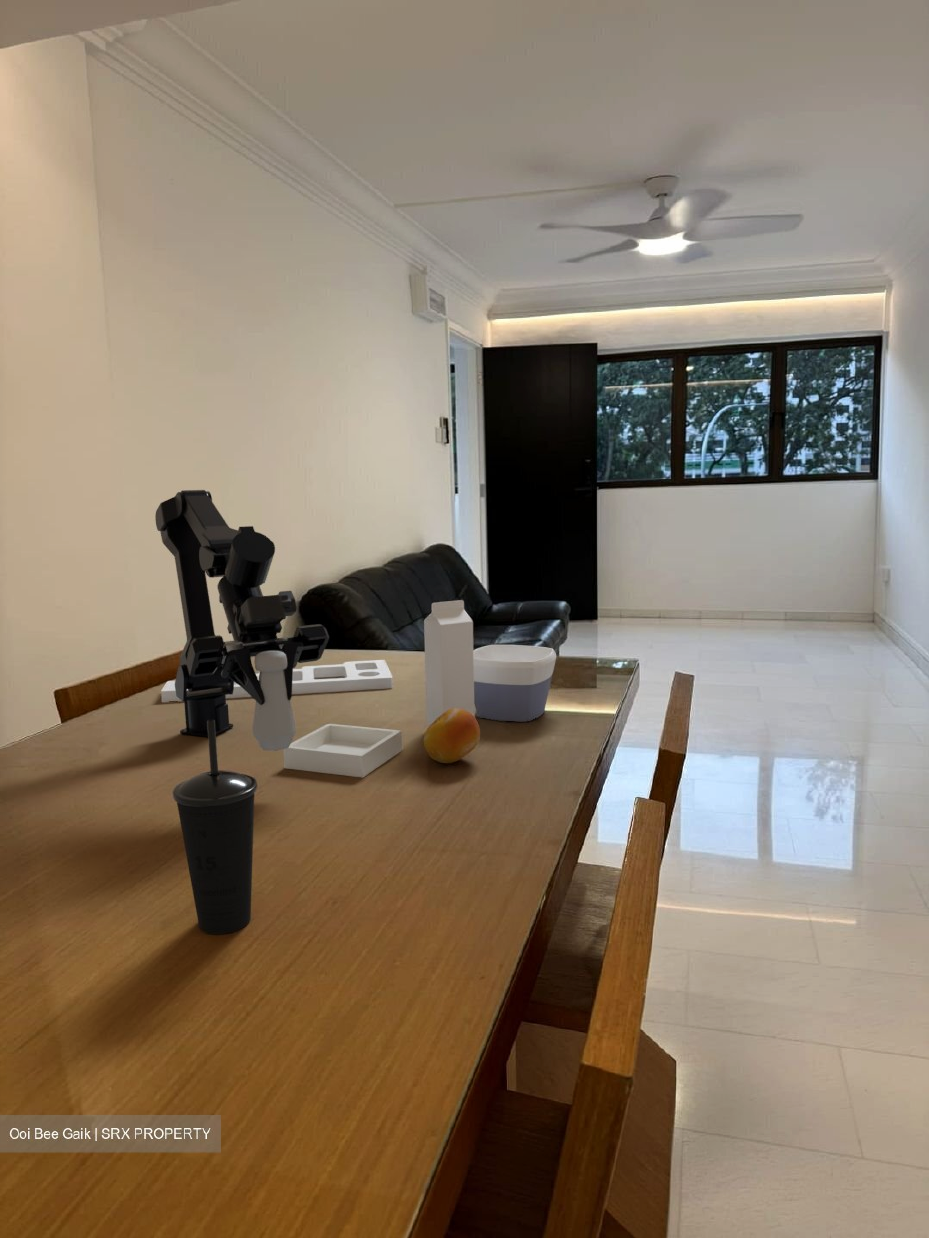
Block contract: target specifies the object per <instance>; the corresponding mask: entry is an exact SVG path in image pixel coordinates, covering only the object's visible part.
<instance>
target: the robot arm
mask: <svg viewBox="0 0 929 1238" xmlns="http://www.w3.org/2000/svg"><path fill="white" fill-rule="evenodd" d="M154 517H155V525H156V530H157V532H160V538H161V541H162V544H163V545H164V546H165V548H167V550H168V551H169V552H170V553H171V554H172V556H173V557H174V563H175V569H176V576H177V581H178V588H179V595H180V603H181V609H182V615H183V621H184V629H185V636H186V643H185V645H184V647H183V649H182V651H181V654H180V656H179V665H178V668H177V673H176V676H175V680H174V681H175V690H176V696H177V697H178V698H179V699H180V700H182V701H181V702H184V717H185V727H184V728H183V729H180V730H179V732H180V734H181V735H184V734H185V735H191V736H199V737H200V736H201V737H208V727H207V721H208V720H215V732H216V735H218V734H221V733H223V732H226V731H227V730H229V729H231V728H234V723H230V716H229V705H228V703H227V698H226V695H228V694H229V695H231V694H233V690H234V682H235V683H237V684H238V685H239V686H241V687H242V688H243V689H244V690H245V691H246V692H247V693H248V694H250V695H251V696H252V697H251V698H253V700H254V701H255V702H256V701H257V702H258V703H259V704H260V705H263V704H264V702H265V699H264V695H263V691H262V689H261V686H260V684H259V681H258V679H257V676H256V674H257V673H256V672H255V668H254V666H253V663H252V658H255V656H256V655H257V654H258V653H261V652H264V651H281V652H284V653H285V654H286V657H287V668H286V669H284V670H283V672H284V676H285V683H286V689H287V695H288V700H289V701H290V702H291V700H292V696H293V694H292V676H293V669H296V667H297V665H298V664H303V663H310V662H311V663H312V662H317V661H318V660H320V659H321V658H322V657H323V654H324V651H325V649H326V646H327V645H328V642H329V640H330V635H329V633H328V630H327V628H326V627H325V626H324V625H322V624H320V623H318V624H309V625H302V626H296V629H295V630H294V634H293V635H292V636H291V637H278V635H277V634H279V633H281V631H282V629H283V627H282V624H281V623H282V621H283V620H285V619H287V617H292V616H293V615H294V614H296V612H297V610H298V607H297V601H296V598H295V596H294V593H293V591H292V590H283V591H282V590H281V591H279V592H278V593H277V594H272V595H264V594H263V592H262V590H261V586H262V585H263V584H265V583H266V581H267V578H268V575H269V572H270V568H271V565H272V562H273V559H274V555H275V552H276V546H275V543H274V541H272V540H271V539H270V538H269V537H268V536H266V535H265V534H263V533H261V532H257V531H256V530H255V528H254V526H253V525H251V526H249V525H248V526H238V529H234V528H232V527H229V525H228V523H227V522H226V520H225V518H223V516H222V514H221V513H220V511H219V510H218V508H217V506H216V505H215V503H214V502H213V497H212V494H211V492H210V491H208V490H207V491H206V490H205V489H191V490H190V489H186V490H184V489H183V490H181V491H178V492H176V493H175V496H173V497H171V498H169V499H166V500H163V501H161V502H160V503H159V505H158V507H157V509H156V510H155V516H154ZM207 577H208V578H211V579H212V578H221V579H220V580H219V581H218V583H217V585H216V586H217V590H218V595H219V597H218V600H219V603H220V604H222V607H223V610H224V613H225V617H226V620H227V623H228V625H227V627H226V628H227V631H228V634H229V635H230V634H231V636H232V639H233V640H227V641H224V638H223V636H222V635H220V634H218V635H216V633H215V627H214V623H213V622H214V621H213V614H212V607H211V602H210V595H209V589H208V581H207ZM187 689H188V690H189V691H187Z"/></svg>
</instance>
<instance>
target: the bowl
mask: <svg viewBox="0 0 929 1238" xmlns="http://www.w3.org/2000/svg"><path fill="white" fill-rule="evenodd" d="M473 659H474V709H475V711H476V715H477V717H478V718H479V719H483V718H486V719H485V720H489V719H492V720H491V721H496V720H500V721H499V722H506V721H518V722H517V723H528V722H527V721H529V722H531V720H532V721H534V720H536V719H538V718H539V717H541V716H542V715H543V714H544V712H545V709H546V705H547V702H548V701H547V700H548V695H549V691H550V686H551V681H552V677H553V673H554V669H555V664H556V660H557V654H556V651H555V650H554V649H553V647H551V648H550V647H545V646H535V645H523V644H522V645H519V644H518V645H517V644H489V645H485V646H481V647H478V648H476V649H473ZM535 718H536V719H535ZM533 719H534V720H533Z"/></svg>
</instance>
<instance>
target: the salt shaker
mask: <svg viewBox="0 0 929 1238" xmlns="http://www.w3.org/2000/svg"><path fill="white" fill-rule="evenodd" d="M286 668H287V657H286V654H285V653H284V652H281V651H264V652H261V653H258V654H257V655H256V656H255V657H254V669H255V670H256V671H258V673H259V671H260V673H259V684H260V686H261V689H262V691H263V695H264V699H265V702H264V704H263V705H260V704H259V703H258V702H257V701H256V700H255V707H254V713H253V714H254V715H253V724H252V735H253V737H254V739H255V740H256V741H257V743H258V745H259V747H260V748H261V749H262V751H272V752H273V751H274V752H277V751H281V750H283V749H286V748H289V746H290V744H291V743H292V742H293V739H294V736H295V734H296V732H297V725H296V720H295V716H294V712H293V707H292V704H291V703H292V702H291V700H290V701H289V700H288V695H287V689H286V683H285V676H284V672H283V670H284V669H286Z"/></svg>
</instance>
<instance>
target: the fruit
mask: <svg viewBox="0 0 929 1238" xmlns="http://www.w3.org/2000/svg"><path fill="white" fill-rule="evenodd" d="M474 716H475V715H474ZM474 716H473V715H472V714H471V713H469V712H468V711H465V710H463V709H458V708H454V709H450V710H447V711H446V712H445V713H443V714H442V715H441V716H440V717H438V718H437V719H436V720H435V721H434V722H433V723H432V724H431V725H430V726H429V728H428V729H427V728H426V730H425V732H424V735H423V745H424V748H425V750H426V752H427V753H426V754H427V755H429V757H430V758H431V759H433V760H434V761H436V762H439V763H443V764H452V763H455V762H457V761H459V760H461V759H463V757H465V756H467V755H468V754H470V753H471V752H473V750H475V749H476V747H477V746H478V744H479V742H480V739H481V729H480V725H479V722H478V720H477V719H476V717H474Z"/></svg>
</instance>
